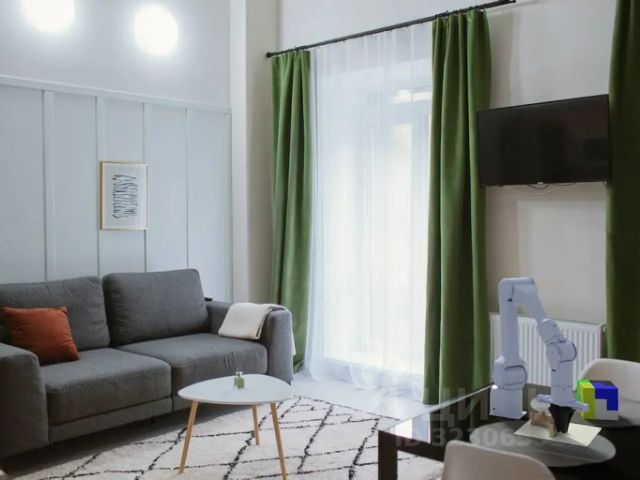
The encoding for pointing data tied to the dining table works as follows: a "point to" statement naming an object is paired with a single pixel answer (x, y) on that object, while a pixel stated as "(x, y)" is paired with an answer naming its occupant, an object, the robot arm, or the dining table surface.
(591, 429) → the mat
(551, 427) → the fence panel
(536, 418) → the fence fixed panel
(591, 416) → the puzzle toy
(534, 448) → the dining table surface
